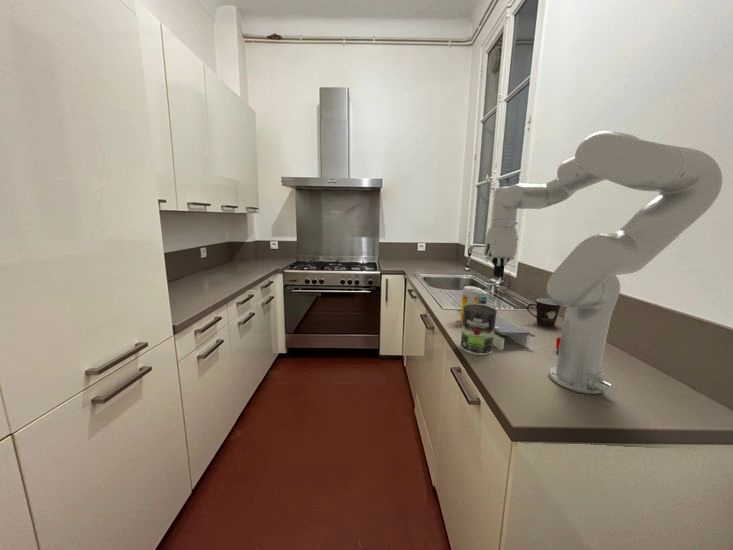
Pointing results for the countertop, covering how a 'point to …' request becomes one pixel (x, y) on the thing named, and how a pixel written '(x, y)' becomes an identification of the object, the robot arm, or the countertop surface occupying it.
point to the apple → (558, 342)
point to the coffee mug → (546, 312)
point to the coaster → (459, 321)
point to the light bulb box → (482, 297)
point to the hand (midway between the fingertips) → (498, 276)
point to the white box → (521, 339)
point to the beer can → (469, 297)
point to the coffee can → (478, 329)
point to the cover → (508, 328)
